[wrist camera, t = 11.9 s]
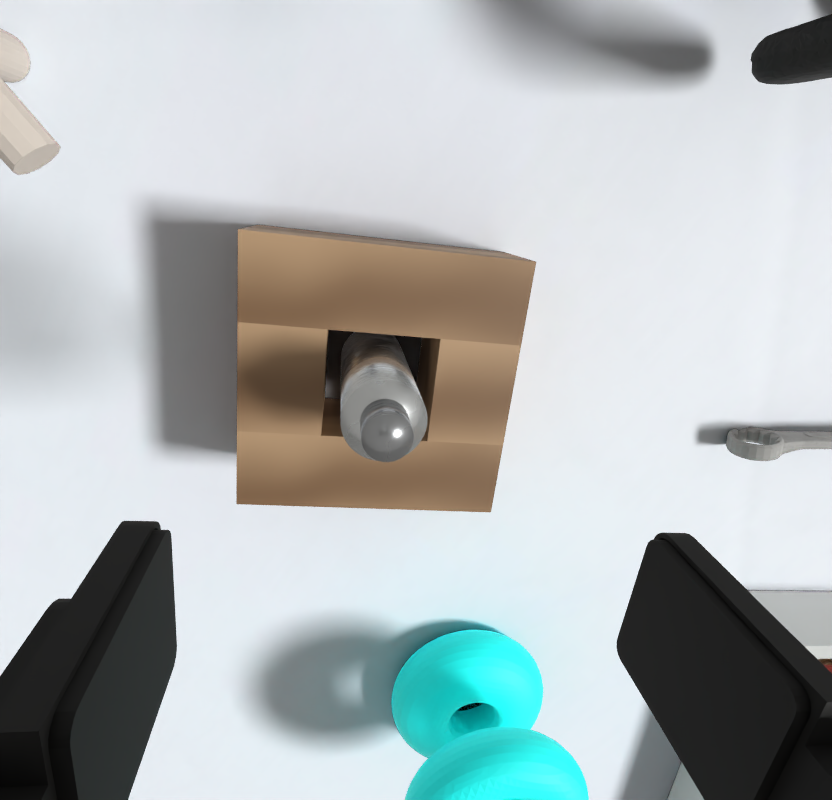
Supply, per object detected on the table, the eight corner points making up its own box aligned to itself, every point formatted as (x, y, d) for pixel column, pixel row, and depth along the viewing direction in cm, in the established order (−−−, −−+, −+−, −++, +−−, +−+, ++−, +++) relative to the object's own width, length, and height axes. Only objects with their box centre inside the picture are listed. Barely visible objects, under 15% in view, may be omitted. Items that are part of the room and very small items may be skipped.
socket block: (257, 224, 25) (237, 229, 21) (502, 252, 27) (535, 261, 22) (253, 455, 29) (236, 503, 25) (468, 466, 31) (490, 512, 26)
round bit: (343, 324, 27) (343, 390, 18) (405, 329, 28) (439, 397, 18) (339, 383, 28) (337, 478, 19) (399, 388, 29) (428, 481, 19)
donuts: (548, 909, 30) (378, 895, 28) (499, 741, 39) (369, 720, 37) (631, 784, 27) (449, 757, 25) (557, 635, 36) (420, 605, 34)
